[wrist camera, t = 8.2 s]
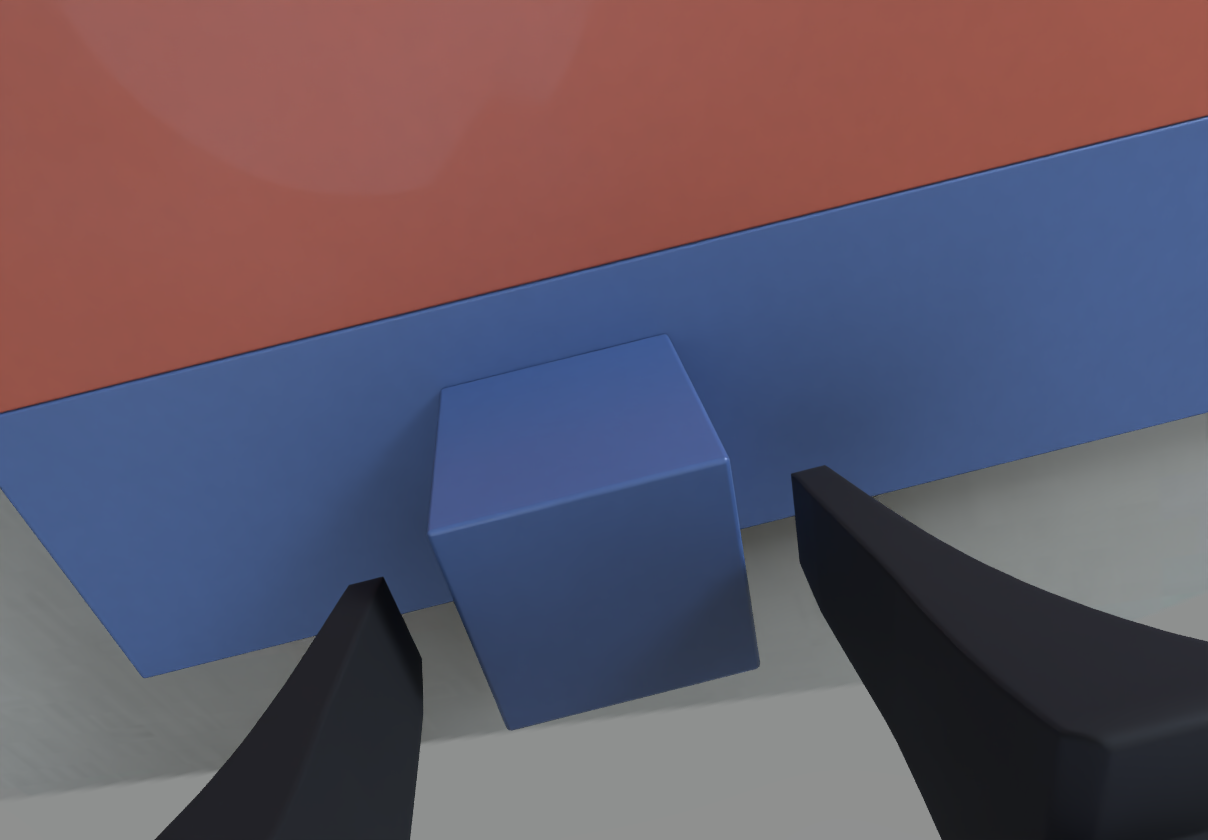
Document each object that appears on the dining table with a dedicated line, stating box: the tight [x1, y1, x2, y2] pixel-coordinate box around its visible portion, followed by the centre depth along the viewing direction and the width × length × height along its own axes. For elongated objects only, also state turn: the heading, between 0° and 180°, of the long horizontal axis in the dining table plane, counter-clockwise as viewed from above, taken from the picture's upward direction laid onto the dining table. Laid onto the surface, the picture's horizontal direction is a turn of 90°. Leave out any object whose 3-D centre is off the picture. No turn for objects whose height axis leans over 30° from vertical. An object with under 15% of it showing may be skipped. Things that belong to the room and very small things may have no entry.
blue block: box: [426, 334, 760, 730], centre depth 15 cm, size 5×5×5 cm
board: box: [0, 0, 1208, 678], centre depth 15 cm, size 14×40×1 cm, turn 102°
